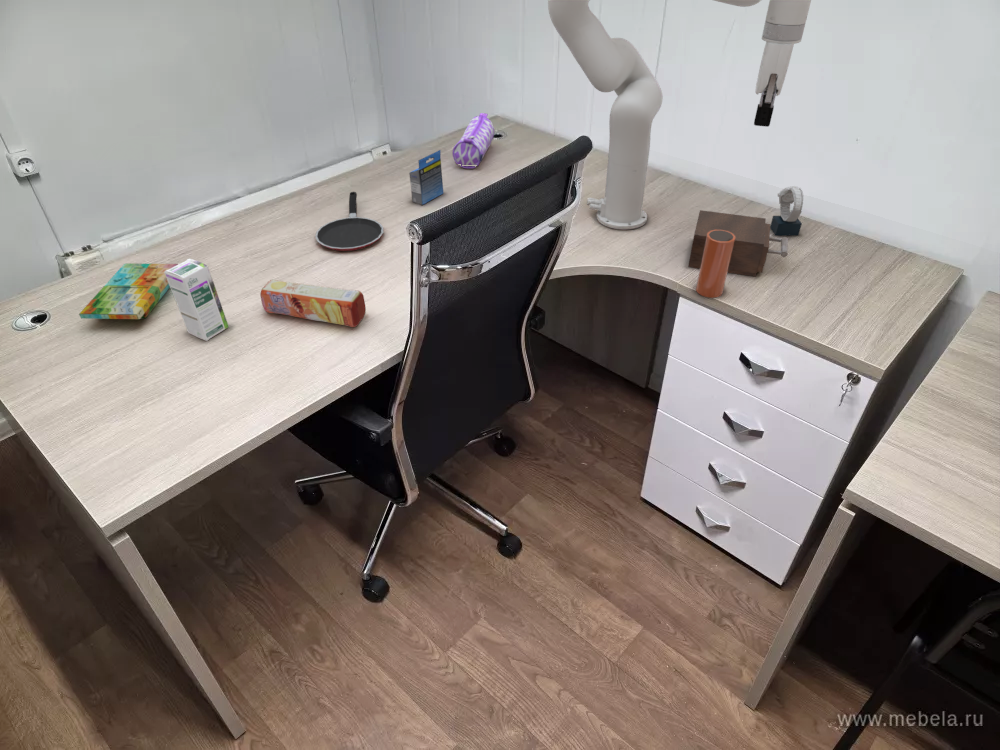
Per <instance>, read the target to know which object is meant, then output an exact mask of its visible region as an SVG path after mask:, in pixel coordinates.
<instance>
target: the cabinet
mask: <svg viewBox="0 0 1000 750" xmlns="http://www.w3.org/2000/svg"><path fill="white" fill-rule="evenodd" d="M766 221H767V220H766V218H764V217H758V216H757V217H756V216H750V215H742V214H733V213H727V212H726V213H725V212H718V211H709V210H702V209H700V210H699V211H698V216H697V221H696V225H695V229H694V233H693V239H692V245H691V249H690V254H689V259H688V266H687V267H688V268H694V269H699V270H700V266H701V261H702V256H703V251H704V246H705V241H706V236H707V233H708V232H709V231H711V230H726V231H729V232H731V233H733V234H734V235H735V242H734V247H733V251H732V255H731V260H730V264H729V268H728V273H727V274H733V275H741V276H747V277H754V278H755V277H756V276H757V273H758V272H757V269H758V265H759V262H760V258H761V254H762V250H763V246H764V238H765V223H767V222H766Z"/></svg>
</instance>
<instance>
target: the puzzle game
mask: <svg viewBox="0 0 1000 750" xmlns="http://www.w3.org/2000/svg"><path fill="white" fill-rule="evenodd" d="M178 264H179V263H137V262H135V263H134V262H133V263H132V262H130V263H129V262H128V263H123V265H121V267H120V268H119V269H118V270H117V271H116V273H114V275H112V277H111V278H110V279H108V281H107V282H106V283H105V285H104V286H103V287H102V288H101V289H100V290H99V291H98V293H96V294H95V295H94V297H93V298H92V299H91V300H89V302H88V303H87V304H86V305H85V307H83V309H82V310H81V311H80V312H79V314H78V315H79V317H80V319H88V320H89V319H92V320H93V319H95V320H97V319H98V320H141V319H142V320H143V319H147V317H148V316H149V315H150V314H151V312H152V311H153V310H154V309H155V307H156V306H157V305H158V303H159V302H160V301H161V300H162V298H163V297H164V295H165V294H166V293H167V292H168V291H169V289H171V288H170V286H169V283H168V280H167V278H166V275H165V273H164V272H165V271H166V270H169V269H171V268H172V267H174V266H176V265H178Z"/></svg>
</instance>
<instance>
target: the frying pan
mask: <svg viewBox="0 0 1000 750" xmlns="http://www.w3.org/2000/svg"><path fill="white" fill-rule="evenodd" d="M357 196H358V193H357V192H356V191H350V192H349V196H348V217H342V218H338V219H334V220H331V221H329V222H326V223H325V224H323V225H322V226H320V227H319V228H318V229H317V231H316V232H315V236H314V237H315V239H316V241H317V243H319V244H320V245H322V246H323V247H324V248H327V249H328V250H332V251H336V252H337V251H338V252H353V251H358V250H364V249H365V248H368V247H371V246H372V245H373V244H375V243H376V242H377V241H379V239H380V238H381V237H382V236H383V234H384V226H383V225H382V223H381V222H379V221H377V220H375V219H373V218H369V217H362V216H358V215H357V214H358V213H357Z"/></svg>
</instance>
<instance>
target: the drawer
mask: <svg viewBox="0 0 1000 750" xmlns="http://www.w3.org/2000/svg"><path fill="white" fill-rule="evenodd" d="M770 226H771V223H767V222H765V238H764V246H763V250H762V254H761V258H760V262H759V265H758V269H757V273H762V274H763V272H764V267H765V264H766V261H767V257H768V254H772V255H780V257H781V258H787V257H788V255H789V254H788V253H789V251H788V250H789V248H788V247H789V240H788V237H787V236H784V237H781V238H779V237H772V236H771V228H770ZM770 236H771V237H770ZM770 242H775V243H776V242H777V243H780V250H774V249H770Z"/></svg>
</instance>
